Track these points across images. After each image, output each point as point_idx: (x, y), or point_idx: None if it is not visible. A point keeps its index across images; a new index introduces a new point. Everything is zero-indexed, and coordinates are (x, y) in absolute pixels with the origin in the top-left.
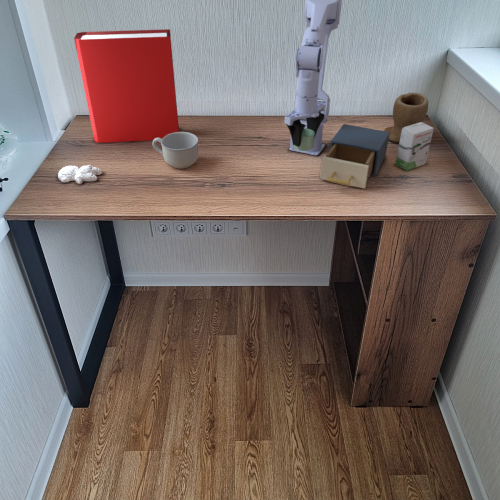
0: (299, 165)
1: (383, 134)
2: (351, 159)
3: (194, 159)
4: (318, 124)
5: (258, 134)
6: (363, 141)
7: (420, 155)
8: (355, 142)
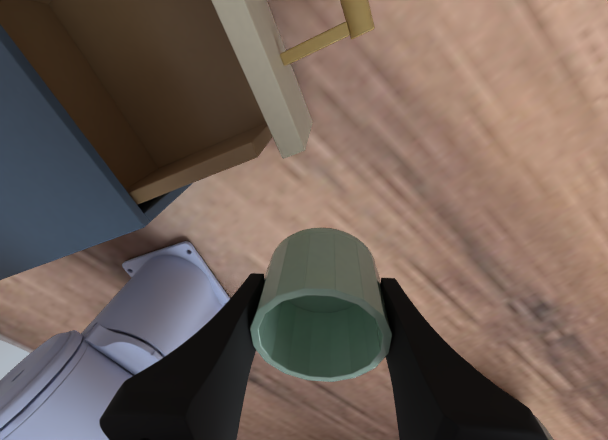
0: (279, 240)
1: None
2: (108, 109)
3: None
4: (208, 346)
5: None
6: None
7: None
8: (18, 120)
